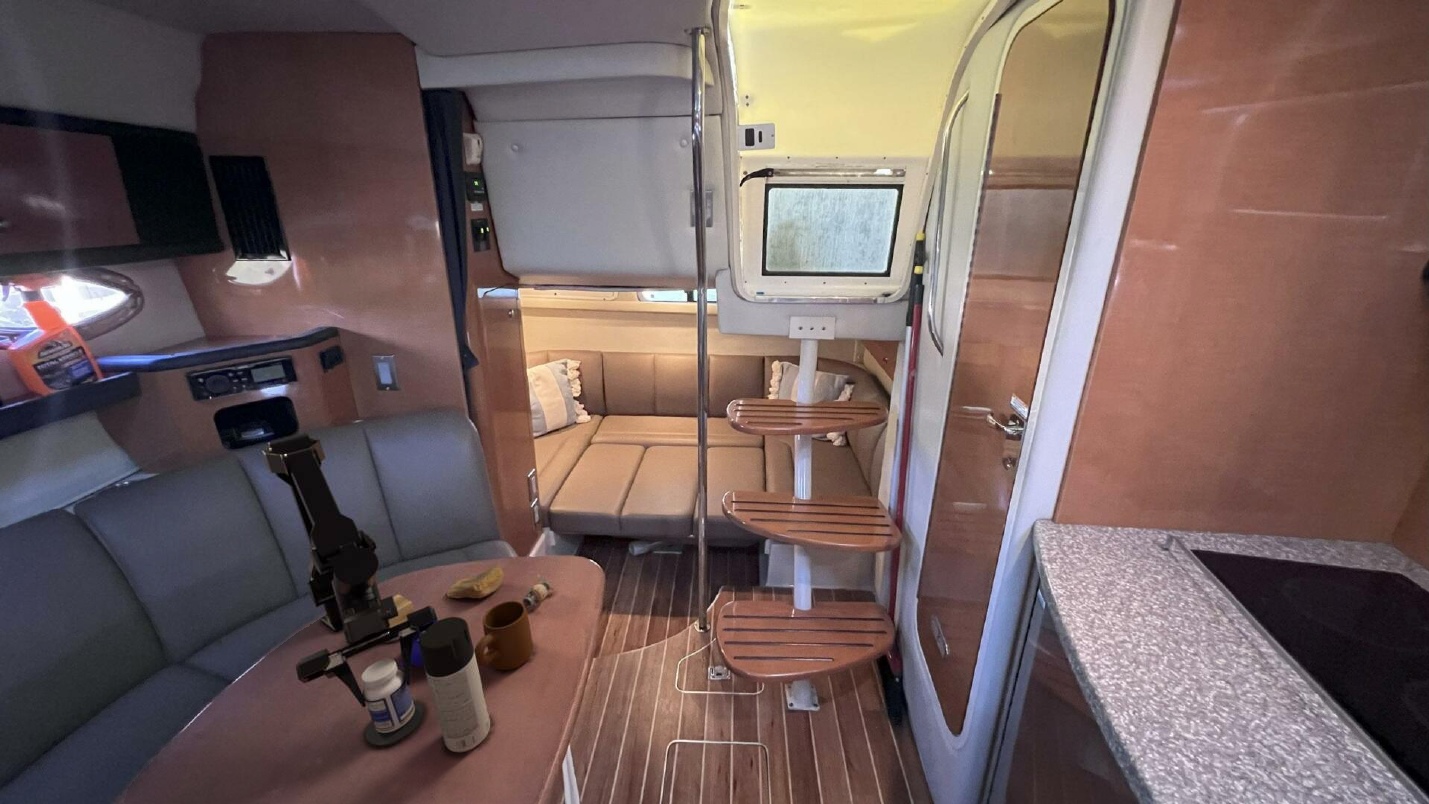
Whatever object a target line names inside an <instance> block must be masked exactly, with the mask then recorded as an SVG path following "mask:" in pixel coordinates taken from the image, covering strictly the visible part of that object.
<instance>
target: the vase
mask: <svg viewBox="0 0 1429 804" xmlns="http://www.w3.org/2000/svg"><path fill="white" fill-rule="evenodd" d="M536 576H537V580H538V581H540V583H537V584H535V585H533V586H532V587H531V588H530V589H529V590H528V591H527V592H526V593H525V597H524V598H523V599H522V601H521V603H522V604H523V605H524V606H525V607H526V608H527V609H531V608H532V607H536V606H538V605H539V604H540V602H542V601H543V600H544V599H545V598H546V596H547V594H548V593H549V594H550V595H552V592H555V588H554V587H553V586H552V585H551V584H550V583H549V582H548V581H547V580H546V579H545V577H543V576H542V575H541V573H537V574H536ZM551 591H552V592H551ZM536 612H537V611H536Z"/></svg>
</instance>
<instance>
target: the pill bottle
mask: <svg viewBox="0 0 1429 804" xmlns="http://www.w3.org/2000/svg"><path fill="white" fill-rule="evenodd" d="M398 668H399V667H398V665H397V662H396V660H395V659H393V658H383V659H380V660H378V661H376V662H374V663H372V664H370V665H369V666H368V667H367V668H366V669H365V670H364V671H363V673H362V674H361V682H362V684H363V686H364V687H363V689H362V694H363V696H364V699H365V703H366V708H367V710H368V712H369V716H370V718H371V719H370V720H371V721H373V724H374V727H375V729H376V730H377V731H378V732H381V733H388V732H392V731H395V730H397V729H399V728H400V727H402V726H403V725H405V724H406V723H407V722H408V721H409V720H410V719H411V717H412V716H413V713H414V710H415V707H414V703H413V701H414V700H413V698H412V695H411V691H410V689H409V686H407V684H406V681H405V677H404V672H403V671H401V670H400V669H398Z"/></svg>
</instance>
